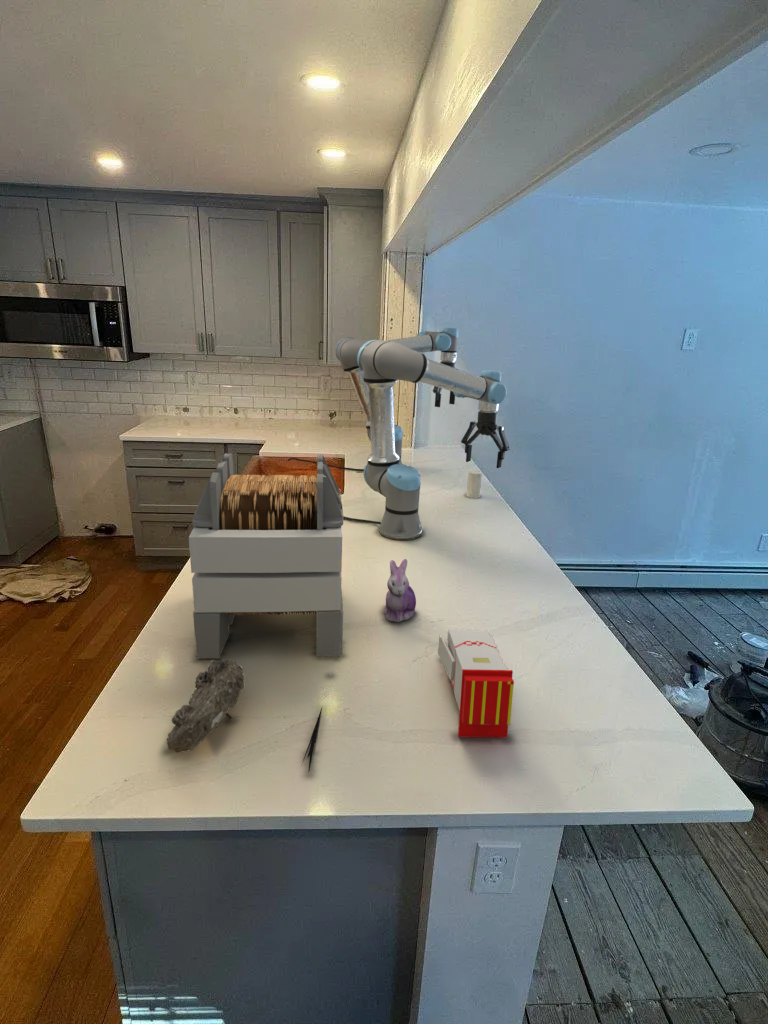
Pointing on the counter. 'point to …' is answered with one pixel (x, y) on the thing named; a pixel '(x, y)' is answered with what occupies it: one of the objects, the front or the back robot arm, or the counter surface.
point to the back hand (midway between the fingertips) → (444, 405)
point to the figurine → (399, 594)
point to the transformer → (267, 553)
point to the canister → (474, 484)
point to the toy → (478, 682)
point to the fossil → (206, 705)
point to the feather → (313, 740)
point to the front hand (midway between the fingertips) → (483, 464)
